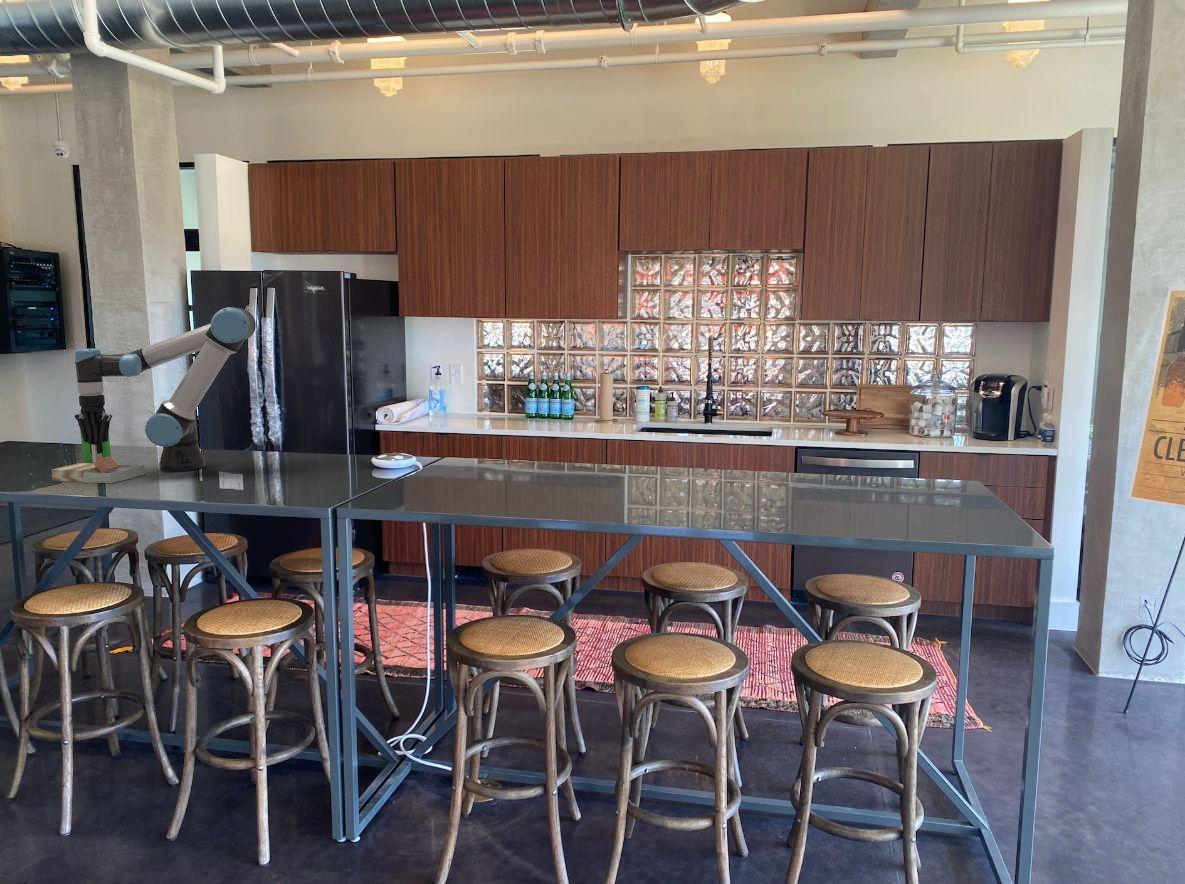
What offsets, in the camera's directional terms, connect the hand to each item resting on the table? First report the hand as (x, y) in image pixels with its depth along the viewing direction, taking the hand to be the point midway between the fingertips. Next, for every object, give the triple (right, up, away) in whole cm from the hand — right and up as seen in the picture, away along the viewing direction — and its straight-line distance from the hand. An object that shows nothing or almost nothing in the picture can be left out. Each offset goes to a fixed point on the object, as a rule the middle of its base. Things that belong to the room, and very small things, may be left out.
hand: (97, 462), depth 295 cm
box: (+6, -6, 0) cm, 8 cm away
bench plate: (-6, -5, +2) cm, 8 cm away
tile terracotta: (+2, -2, 0) cm, 3 cm away
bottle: (-11, -3, +19) cm, 22 cm away
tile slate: (+8, -2, -1) cm, 9 cm away
